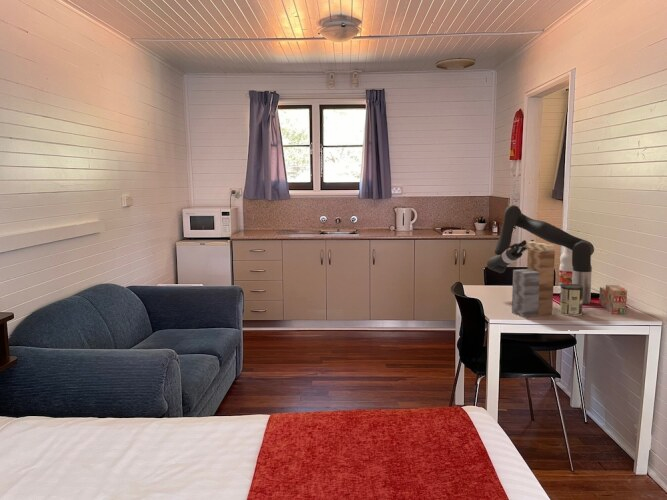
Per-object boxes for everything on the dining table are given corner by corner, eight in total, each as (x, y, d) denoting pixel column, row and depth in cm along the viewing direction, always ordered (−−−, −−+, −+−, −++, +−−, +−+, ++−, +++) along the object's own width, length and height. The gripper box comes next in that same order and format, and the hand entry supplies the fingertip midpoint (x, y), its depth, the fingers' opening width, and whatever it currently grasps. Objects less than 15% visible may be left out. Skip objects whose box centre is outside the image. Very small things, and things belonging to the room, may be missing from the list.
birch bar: (554, 251, 247) (554, 245, 247) (546, 251, 246) (547, 245, 246) (528, 246, 266) (528, 240, 266) (521, 246, 265) (521, 240, 265)
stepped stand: (552, 315, 254) (554, 251, 250) (523, 317, 250) (526, 252, 246) (539, 310, 264) (541, 248, 259) (511, 312, 260) (513, 250, 255)
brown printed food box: (598, 303, 275) (600, 281, 274) (611, 304, 274) (612, 281, 273) (612, 314, 255) (613, 289, 253) (625, 314, 253) (627, 290, 252)
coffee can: (571, 310, 263) (573, 283, 261) (586, 315, 253) (588, 287, 251) (554, 311, 260) (556, 284, 258) (569, 316, 250) (570, 288, 249)
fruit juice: (578, 290, 309) (581, 243, 305) (569, 292, 304) (571, 245, 300) (564, 287, 317) (566, 242, 313) (555, 289, 312) (557, 243, 308)
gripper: (498, 248, 277) (515, 235, 262) (521, 247, 281) (539, 234, 265) (502, 261, 275) (519, 249, 259) (525, 260, 278) (543, 247, 263)
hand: (529, 241), depth 262 cm, fingers closed on birch bar, 4 cm apart
